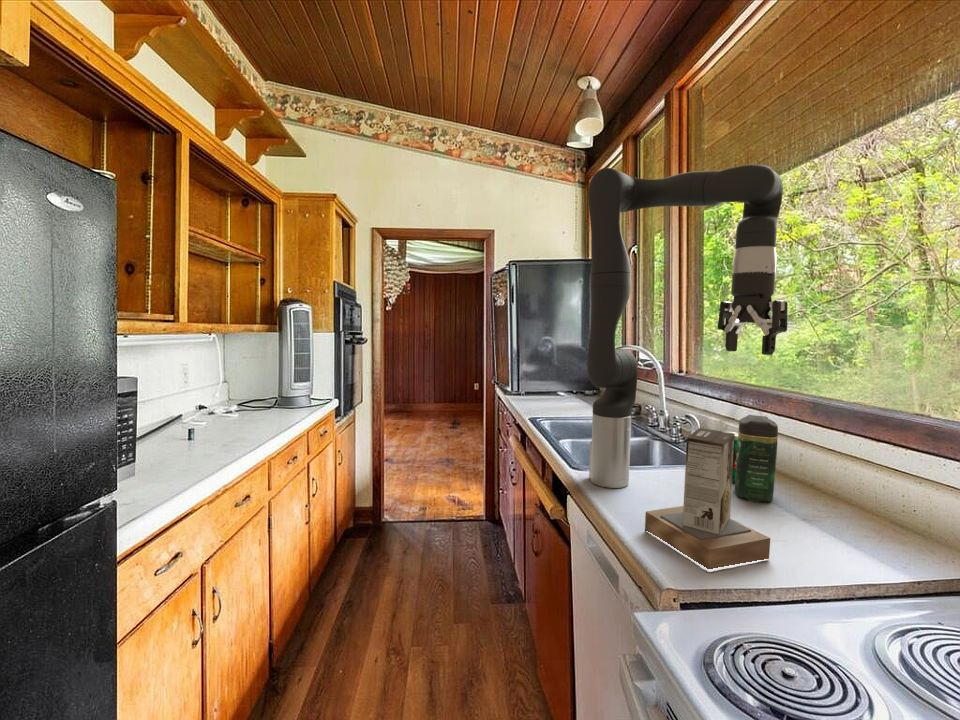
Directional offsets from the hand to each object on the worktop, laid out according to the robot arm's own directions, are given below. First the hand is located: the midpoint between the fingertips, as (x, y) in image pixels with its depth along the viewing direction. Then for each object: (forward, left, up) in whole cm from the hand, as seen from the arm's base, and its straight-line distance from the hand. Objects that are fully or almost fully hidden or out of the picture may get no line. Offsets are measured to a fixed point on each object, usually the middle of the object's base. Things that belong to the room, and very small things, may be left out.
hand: (748, 352), depth 98 cm
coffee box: (+8, -16, -30) cm, 35 cm away
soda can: (-18, +16, -34) cm, 42 cm away
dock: (+8, -17, -34) cm, 39 cm away
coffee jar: (-8, +13, -34) cm, 38 cm away
